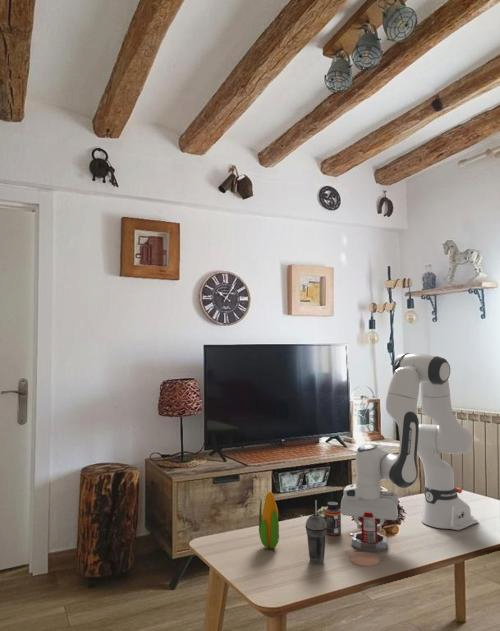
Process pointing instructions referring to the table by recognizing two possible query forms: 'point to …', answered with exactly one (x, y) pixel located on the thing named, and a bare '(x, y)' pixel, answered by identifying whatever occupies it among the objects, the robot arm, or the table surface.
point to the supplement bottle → (333, 519)
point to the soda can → (369, 528)
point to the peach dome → (364, 559)
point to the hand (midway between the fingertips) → (369, 529)
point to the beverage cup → (316, 537)
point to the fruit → (322, 511)
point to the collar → (369, 546)
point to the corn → (269, 522)
